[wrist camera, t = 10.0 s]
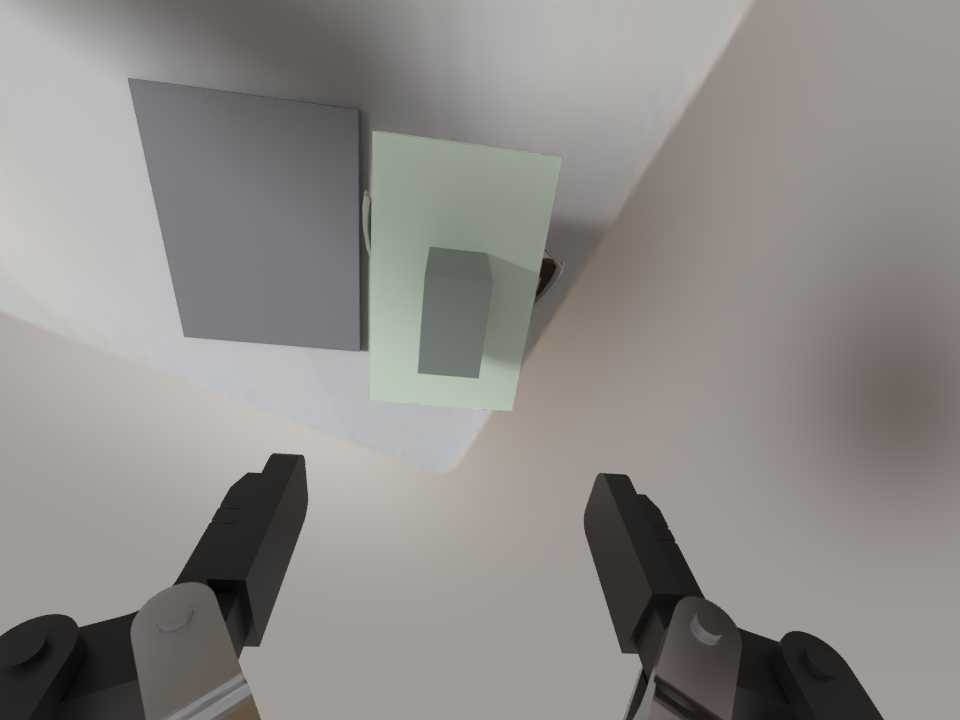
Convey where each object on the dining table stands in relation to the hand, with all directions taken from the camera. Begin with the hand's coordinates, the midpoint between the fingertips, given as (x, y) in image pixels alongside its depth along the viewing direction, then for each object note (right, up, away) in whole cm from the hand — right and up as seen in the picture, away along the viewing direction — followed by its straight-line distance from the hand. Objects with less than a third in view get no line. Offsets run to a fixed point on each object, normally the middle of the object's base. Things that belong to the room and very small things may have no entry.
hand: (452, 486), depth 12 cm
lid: (-1, +8, +13) cm, 16 cm away
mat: (-15, +13, +21) cm, 29 cm away
